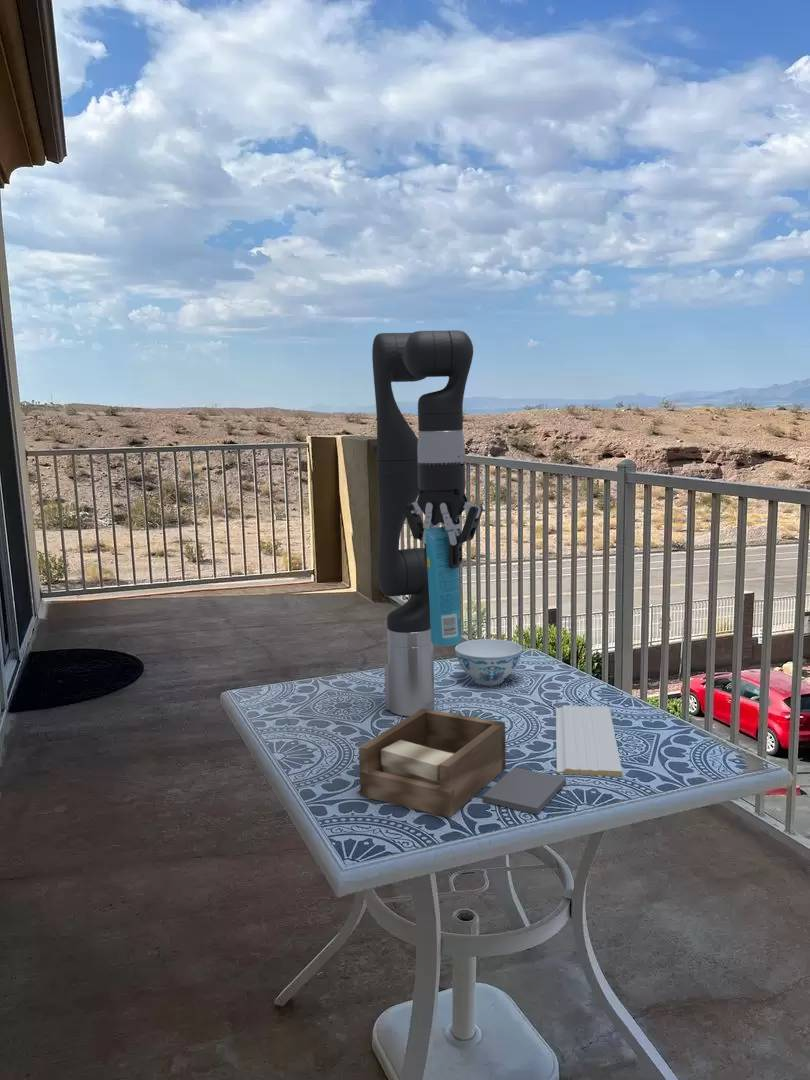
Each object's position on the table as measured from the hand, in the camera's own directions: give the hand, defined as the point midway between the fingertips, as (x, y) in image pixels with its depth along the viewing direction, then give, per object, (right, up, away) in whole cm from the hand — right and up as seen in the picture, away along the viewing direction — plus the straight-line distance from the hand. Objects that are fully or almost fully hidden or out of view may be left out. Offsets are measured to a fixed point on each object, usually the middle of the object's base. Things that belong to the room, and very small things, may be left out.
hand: (443, 566), depth 133 cm
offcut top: (-4, -32, -3) cm, 32 cm away
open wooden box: (-1, -35, +2) cm, 35 cm away
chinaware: (+13, -28, +54) cm, 62 cm away
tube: (0, -13, +2) cm, 13 cm away
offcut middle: (-4, -34, -2) cm, 34 cm away
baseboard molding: (+26, -33, +18) cm, 46 cm away
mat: (+13, -36, -3) cm, 38 cm away
